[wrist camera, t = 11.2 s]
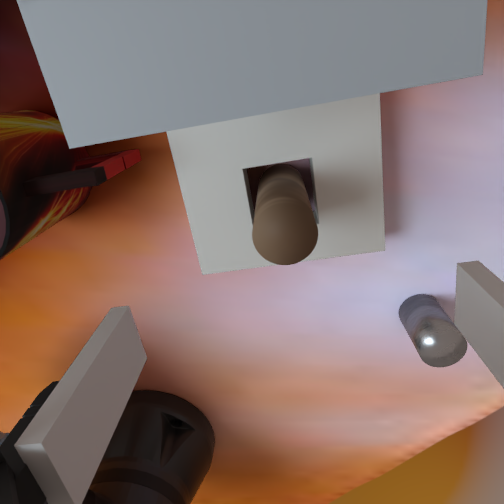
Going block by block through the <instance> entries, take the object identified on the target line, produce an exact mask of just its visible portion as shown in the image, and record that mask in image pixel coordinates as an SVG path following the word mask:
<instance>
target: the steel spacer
mask: <svg viewBox="0 0 504 504" xmlns="http://www.w3.org/2000/svg"><path fill="white" fill-rule="evenodd" d="M399 318H400V320H401V322H402V324H403V325H404V327H405V329H406V331H407V333H408V335H409V337H410V339H411V340H412V342H413V344H414V346H415V348H416V350H417V352H418V353H419V355H420V357H421V359H422V360H423V361H424V362H425V363H426V364H428V365H430V366H433V367H446V366H450V365H452V364H455V363H456V362H458V361H459V360H460V359H461V358H462V357H463V356H464V355H465V353H466V350H467V341H466V339H465V338H464V336H463V335H462V334H461V332H460V331H459V330H458V328H457V327H456V326H455V324H454V323H453V322H452V320H451V319H450V318H449V316H448V315H447V314H446V312H445V311H444V310H443V308H442V307H441V306H440V304H439V303H438V302H437V300H436V299H435V298H434V297H432V296H430V295H426V294H418V295H414V296H411V297H409V298H408V299H406V300H405V301H404V302H403V303H402V305H401V306H400V309H399Z"/></svg>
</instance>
